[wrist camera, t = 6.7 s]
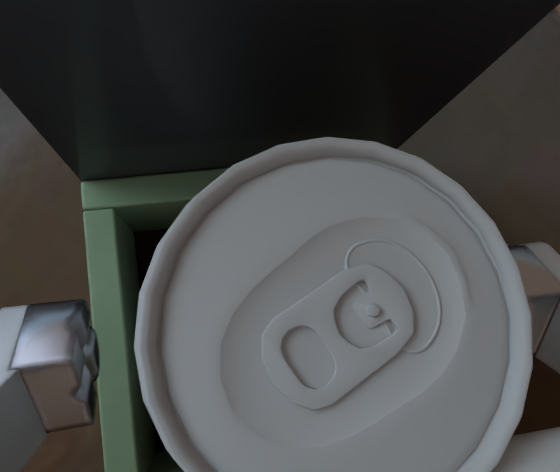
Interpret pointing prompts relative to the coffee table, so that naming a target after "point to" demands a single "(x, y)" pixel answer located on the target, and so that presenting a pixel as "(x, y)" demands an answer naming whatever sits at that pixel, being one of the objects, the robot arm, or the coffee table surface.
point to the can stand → (218, 117)
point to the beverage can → (334, 319)
